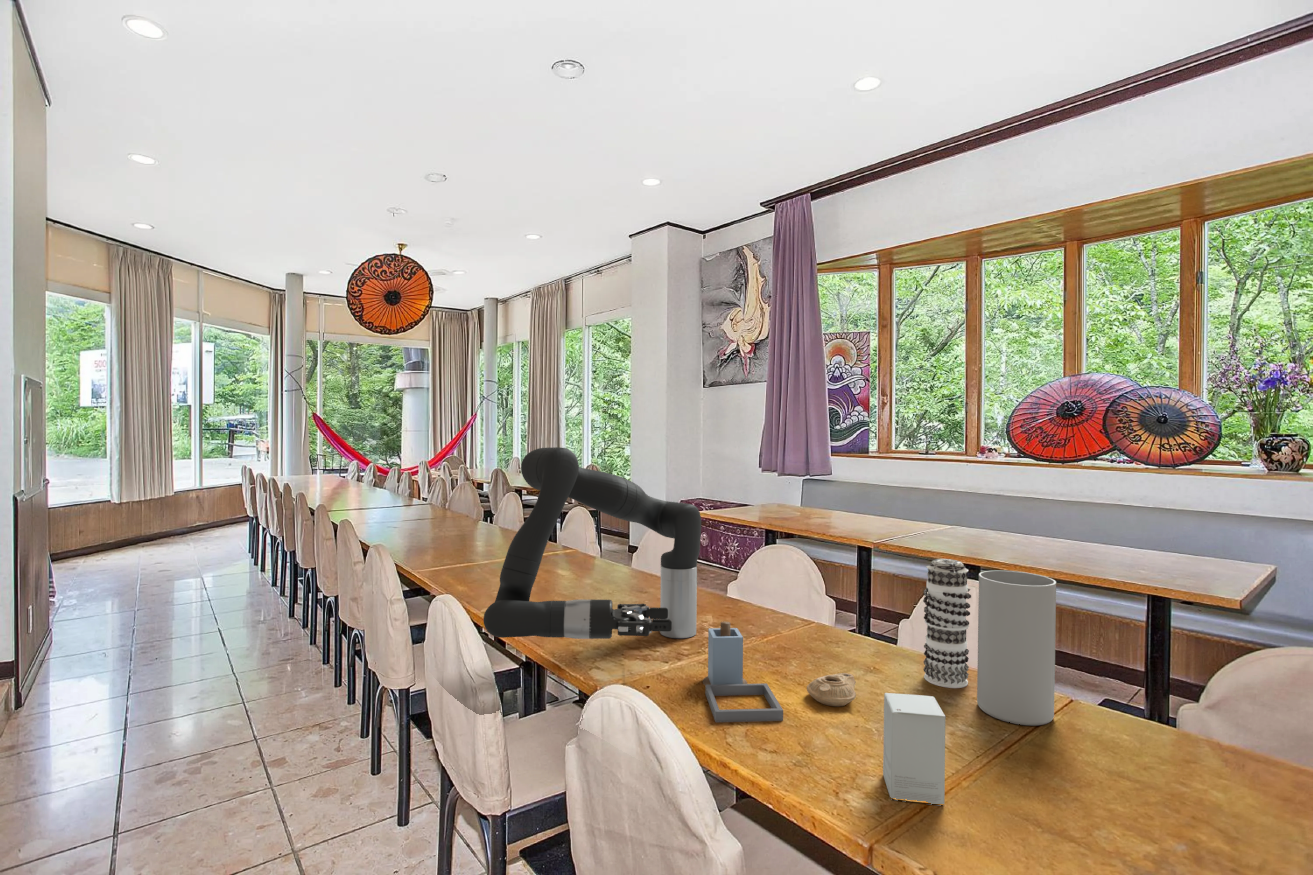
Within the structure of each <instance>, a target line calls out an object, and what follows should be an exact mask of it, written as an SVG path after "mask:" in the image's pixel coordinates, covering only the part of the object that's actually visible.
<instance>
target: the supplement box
mask: <svg viewBox="0 0 1313 875" xmlns="http://www.w3.org/2000/svg"><path fill="white" fill-rule="evenodd" d="M883 697H884V698H883V755H882V756H883V759H882V760H883V761H882V765H883V766H882V775H883V779H884V782H885V784H886V785H885V786H886V789H887V791H888V795H889V798H890V797H891V798H896V799H904V800H905V799H907V800H917V801H926V802H928V803H931V804H930V805H932V804H944V805H945V792H946V789H945V788H946V787H945V784H946V782H945V781H946V779H945V778H946V715H945V713H944V712H943V710H942V708H941V707H940V705H939V703H938V701H937V699H936V698H935V696H931V695H923V694H922V695H921V694H920V695H919V694H911V693H910V694H908V693H894V692H893V693H891V692H884V694H883Z"/></svg>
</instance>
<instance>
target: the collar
mask: <svg viewBox="0 0 1313 875" xmlns="http://www.w3.org/2000/svg"><path fill="white" fill-rule="evenodd" d="M707 635H708V638H707V639H708V642H707V643H708V645H707V650H708V654H707V658H708V659H707V676H708V678H709V680H710V683H711V685H713V684H743V677H744V676H743V675H744V674H743V673H744V636H743V635H742V633H741V632H740V630H739V628H737V627H730V636H720V627H718V628H715V627H714V628H712V627H710V628H708V634H707Z"/></svg>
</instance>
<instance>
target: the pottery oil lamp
mask: <svg viewBox="0 0 1313 875" xmlns="http://www.w3.org/2000/svg"><path fill="white" fill-rule="evenodd" d="M855 686H856V680H855V676H854V674H851V673H847V672H842V673H841V672H840V673H835V674H825V675H824V676H818V677H817V678H815V679H814V680H812V681H810V682H809V683H808V684H807V685H806V691H807V693H808V694H809V696H811V697H812V698H813V700H816V701H817V702H818V703H821V704H822V705H826V706H829V707H830V706H831V707H844V706H845V705H847V704H849V703H850V702H852V701H854V700H855V699H856V697H857V693H856V691H855Z"/></svg>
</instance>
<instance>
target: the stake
mask: <svg viewBox="0 0 1313 875" xmlns="http://www.w3.org/2000/svg"><path fill="white" fill-rule="evenodd" d="M719 628H720V636H730V628H731V622H730V621H721V622H720V627H719ZM743 684H748V681H747V680H746V679H745V678H743ZM702 685H704V686H705V687H706V685H711V683H710V680H709V678H708V675H707V676H705V677H704V678H703V679H702Z"/></svg>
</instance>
